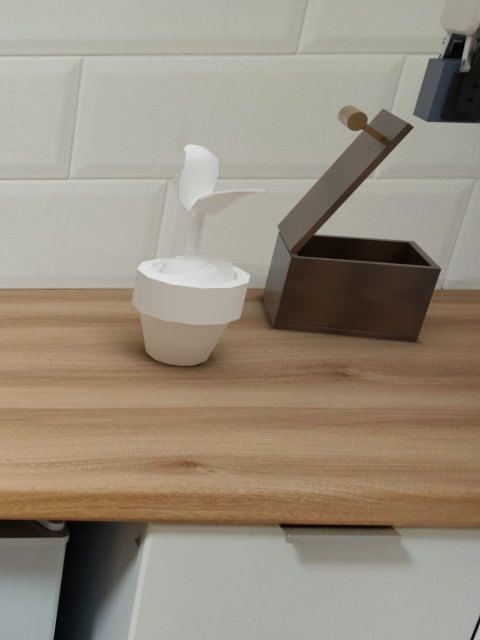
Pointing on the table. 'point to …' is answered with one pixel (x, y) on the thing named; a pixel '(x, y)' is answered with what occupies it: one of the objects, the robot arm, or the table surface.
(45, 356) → the table surface
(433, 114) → the block
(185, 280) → the potted plant
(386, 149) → the lid
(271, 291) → the chest
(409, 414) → the table surface
